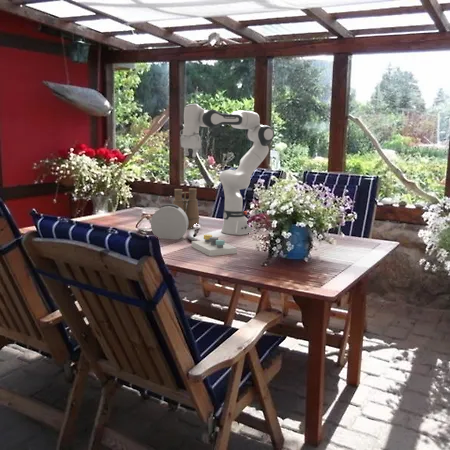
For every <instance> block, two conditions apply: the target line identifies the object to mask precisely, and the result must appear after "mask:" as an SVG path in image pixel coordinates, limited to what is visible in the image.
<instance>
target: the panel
mask: <svg viewBox="0 0 450 450" xmlns="http://www.w3.org/2000/svg"><path fill="white" fill-rule="evenodd" d="M191 247H192V248H194V249H196V250H198V251H199V252H201V253H202V254H204V255H207V256H209V257H213V256H215V257H216V256H223V255H231V254H237V252H238V251H237V250H238V249H237V248H238V247H236V246H234V245H231V244H229V243H226V242H225V244H224V245H223V248H217V245H211V242H205V239H203V240H202V239H201V240H194V241H193V240H191Z"/></svg>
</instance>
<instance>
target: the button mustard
mask: <svg viewBox="0 0 450 450" xmlns="http://www.w3.org/2000/svg"><path fill="white" fill-rule="evenodd" d="M210 237H213V235H212V234H207V233H206V234H203V240H205V242H210V241H209V240H210Z"/></svg>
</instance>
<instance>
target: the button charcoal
mask: <svg viewBox="0 0 450 450" xmlns="http://www.w3.org/2000/svg"><path fill="white" fill-rule="evenodd" d="M216 240H219V237H217V236H212V237H210V240H209V241H210V242H211V245H216Z"/></svg>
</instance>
